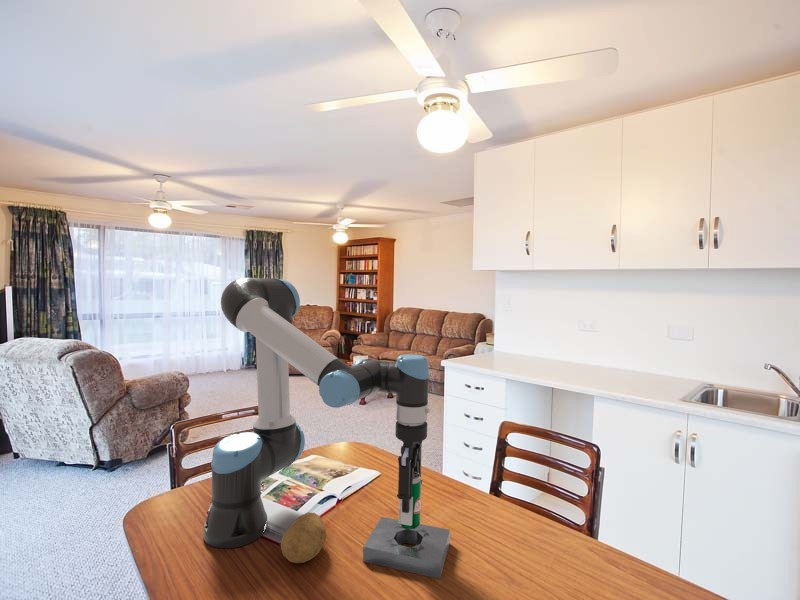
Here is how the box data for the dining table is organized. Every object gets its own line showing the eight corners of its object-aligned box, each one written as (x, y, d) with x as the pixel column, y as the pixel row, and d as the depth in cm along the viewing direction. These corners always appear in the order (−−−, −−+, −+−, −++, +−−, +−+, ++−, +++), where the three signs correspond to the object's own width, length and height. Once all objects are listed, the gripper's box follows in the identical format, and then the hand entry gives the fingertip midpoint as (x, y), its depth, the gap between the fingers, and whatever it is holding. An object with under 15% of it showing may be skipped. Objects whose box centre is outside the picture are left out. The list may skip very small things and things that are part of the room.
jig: (362, 561, 95) (363, 546, 95) (381, 529, 108) (381, 516, 108) (440, 578, 90) (440, 563, 90) (449, 543, 103) (450, 529, 103)
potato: (331, 537, 104) (331, 506, 104) (316, 577, 90) (317, 541, 90) (293, 535, 105) (293, 504, 104) (272, 574, 91) (273, 538, 90)
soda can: (418, 532, 96) (419, 481, 95) (396, 529, 97) (398, 478, 96) (421, 520, 101) (422, 471, 100) (401, 517, 102) (402, 469, 101)
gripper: (418, 435, 88) (415, 542, 89) (434, 411, 106) (432, 501, 106) (384, 431, 90) (382, 536, 91) (406, 408, 108) (404, 496, 108)
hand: (409, 517), depth 99 cm, fingers closed on soda can, 5 cm apart
